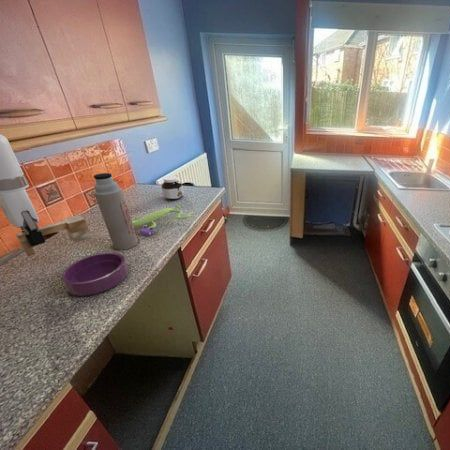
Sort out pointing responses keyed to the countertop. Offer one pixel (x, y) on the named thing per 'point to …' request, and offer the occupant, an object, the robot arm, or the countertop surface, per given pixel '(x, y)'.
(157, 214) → the figurine
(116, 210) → the thermos bottle
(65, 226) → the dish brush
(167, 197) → the spread jar
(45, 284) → the countertop surface
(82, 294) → the bowl
